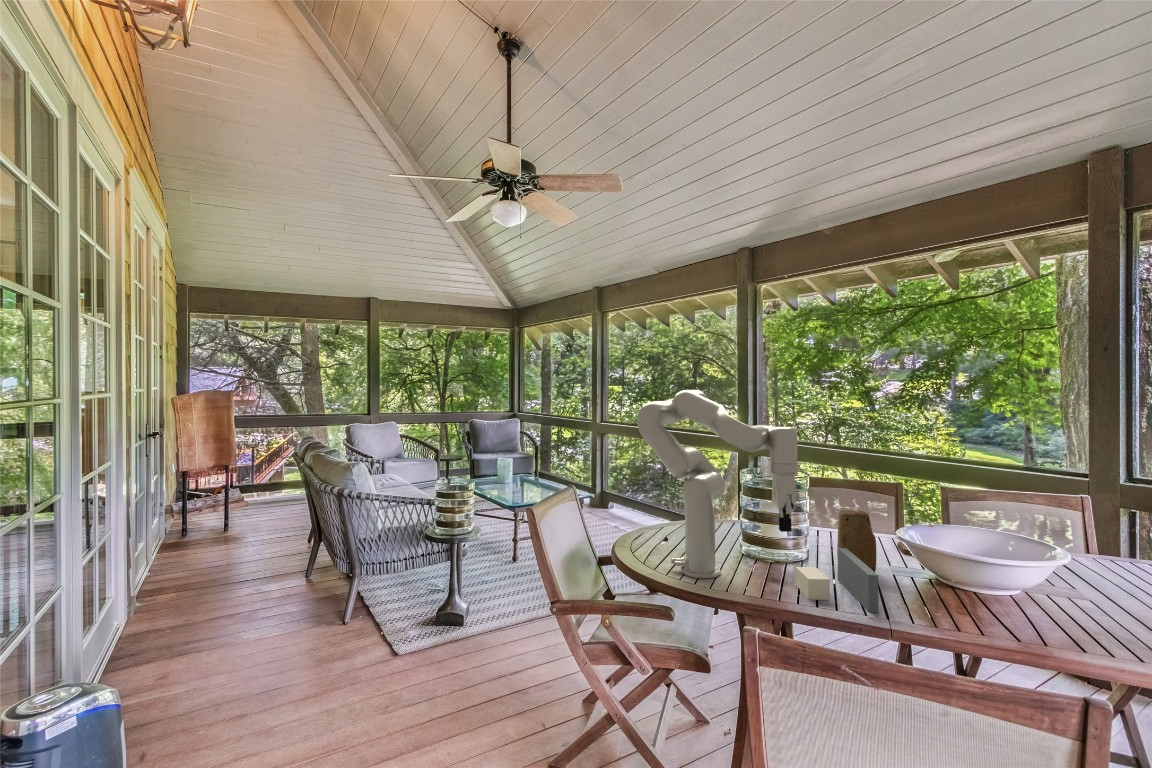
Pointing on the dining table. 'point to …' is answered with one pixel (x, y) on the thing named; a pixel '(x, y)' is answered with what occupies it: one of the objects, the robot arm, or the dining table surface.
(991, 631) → the dining table surface
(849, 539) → the block
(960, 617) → the dining table surface
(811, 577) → the cream block
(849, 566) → the slate board
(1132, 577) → the dining table surface
